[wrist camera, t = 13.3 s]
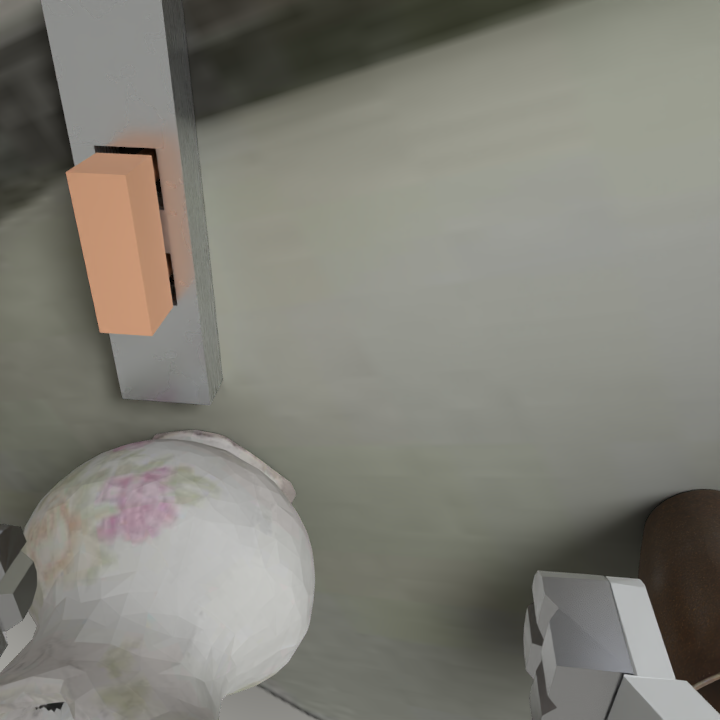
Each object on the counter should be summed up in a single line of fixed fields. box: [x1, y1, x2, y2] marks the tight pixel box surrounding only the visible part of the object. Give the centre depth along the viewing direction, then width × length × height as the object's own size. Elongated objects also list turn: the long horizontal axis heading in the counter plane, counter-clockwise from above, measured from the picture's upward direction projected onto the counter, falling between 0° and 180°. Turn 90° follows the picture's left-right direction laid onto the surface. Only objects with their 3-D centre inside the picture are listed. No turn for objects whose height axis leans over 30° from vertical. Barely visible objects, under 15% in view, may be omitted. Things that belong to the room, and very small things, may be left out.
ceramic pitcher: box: [0, 430, 315, 720], centre depth 43 cm, size 22×20×25 cm
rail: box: [41, 0, 223, 405], centre depth 40 cm, size 24×6×3 cm, turn 179°
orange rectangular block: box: [66, 148, 173, 336], centre depth 38 cm, size 9×3×7 cm, turn 179°
